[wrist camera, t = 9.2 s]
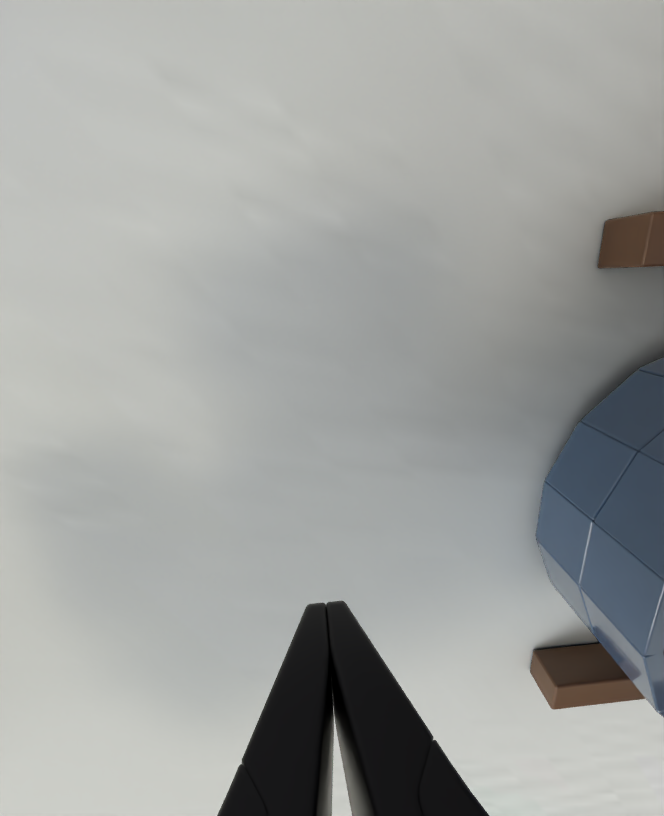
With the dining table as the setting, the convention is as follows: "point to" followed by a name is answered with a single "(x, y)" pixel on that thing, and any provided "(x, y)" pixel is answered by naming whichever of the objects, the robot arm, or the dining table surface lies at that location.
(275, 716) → the robot arm
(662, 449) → the blue-grey round ring piece
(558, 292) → the dining table surface
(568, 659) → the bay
